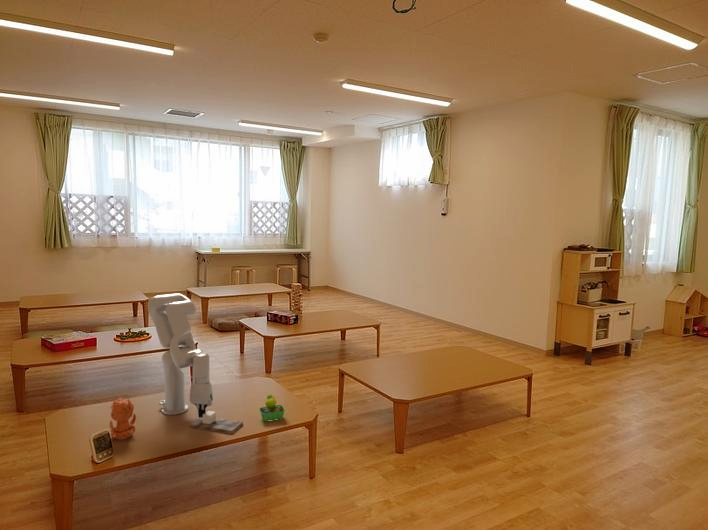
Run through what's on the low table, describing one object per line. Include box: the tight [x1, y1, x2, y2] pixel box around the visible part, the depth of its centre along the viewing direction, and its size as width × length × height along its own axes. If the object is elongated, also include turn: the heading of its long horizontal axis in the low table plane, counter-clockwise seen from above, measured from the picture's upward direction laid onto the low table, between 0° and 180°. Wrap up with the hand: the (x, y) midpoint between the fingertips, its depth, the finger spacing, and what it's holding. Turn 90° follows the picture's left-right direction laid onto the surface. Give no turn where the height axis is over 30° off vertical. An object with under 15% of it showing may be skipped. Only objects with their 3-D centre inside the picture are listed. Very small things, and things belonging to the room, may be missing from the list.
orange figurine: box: [109, 396, 137, 441], centre depth 211 cm, size 11×11×18 cm
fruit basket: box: [258, 394, 286, 422], centre depth 234 cm, size 11×9×11 cm
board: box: [189, 417, 244, 435], centre depth 224 cm, size 22×10×2 cm, turn 75°
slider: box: [203, 410, 217, 424], centre depth 225 cm, size 4×5×4 cm
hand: (202, 416), depth 226 cm, fingers closed
